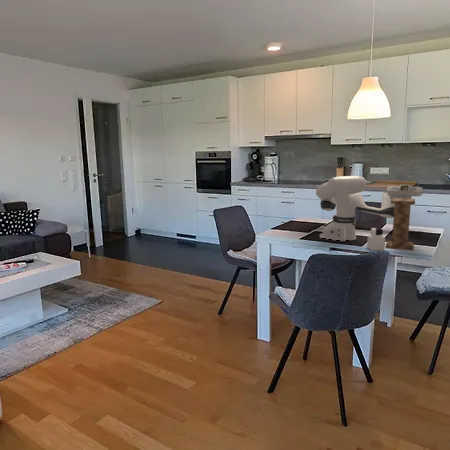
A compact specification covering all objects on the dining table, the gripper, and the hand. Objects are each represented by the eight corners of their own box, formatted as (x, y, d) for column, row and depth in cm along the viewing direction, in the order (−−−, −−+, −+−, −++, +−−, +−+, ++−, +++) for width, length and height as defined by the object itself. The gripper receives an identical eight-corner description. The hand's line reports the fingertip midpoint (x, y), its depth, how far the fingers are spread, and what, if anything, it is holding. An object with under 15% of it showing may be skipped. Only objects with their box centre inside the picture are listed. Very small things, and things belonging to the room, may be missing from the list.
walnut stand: (385, 247, 219) (388, 200, 213) (387, 242, 229) (390, 197, 224) (413, 250, 213) (417, 201, 207) (413, 245, 223) (416, 198, 218)
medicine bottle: (379, 247, 220) (380, 226, 218) (384, 250, 213) (386, 229, 211) (366, 247, 220) (368, 227, 217) (371, 250, 213) (373, 229, 210)
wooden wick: (400, 190, 226) (400, 185, 225) (401, 187, 240) (401, 182, 239) (408, 190, 224) (408, 185, 224) (408, 187, 238) (408, 182, 238)
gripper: (422, 200, 242) (423, 191, 230) (386, 198, 251) (386, 190, 239) (422, 190, 244) (424, 181, 232) (387, 189, 253) (387, 180, 241)
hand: (404, 185), depth 236 cm, fingers closed on wooden wick, 2 cm apart
